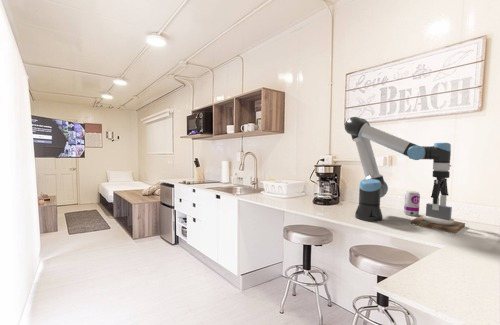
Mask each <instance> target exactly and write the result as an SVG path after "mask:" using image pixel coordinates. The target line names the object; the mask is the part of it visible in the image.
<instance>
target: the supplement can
mask: <svg viewBox="0 0 500 325" xmlns="http://www.w3.org/2000/svg"><path fill="white" fill-rule="evenodd" d="M420 200H421V195H420V191H419V192H418V191H416V190H415V191H414V190H406V191H405V193H404V202H403V203H404V204H403V205H404V206H403V213H404V214H405V215H406V216H412V217H416V216H417V217H419V215H420V203H421V202H420Z"/></svg>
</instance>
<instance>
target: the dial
mask: <svg viewBox="0 0 500 325" xmlns="http://www.w3.org/2000/svg"><path fill="white" fill-rule="evenodd" d="M452 209H453V207H452V206H447V205H446V206H442V205H440V204H439V210H433V209H432V203H429V202H428V203H426V206H425V214H422V216H423V220H425V221H427V222H430V223H435V224H441V225H453V224H454V221H455V219H454V218H452V211H453V210H452Z"/></svg>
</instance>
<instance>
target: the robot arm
mask: <svg viewBox="0 0 500 325" xmlns="http://www.w3.org/2000/svg"><path fill="white" fill-rule="evenodd" d="M344 130H345V132H346V133H347V134H349V135H350V136H351V140H352V141H353V142H355V145H356V148H357V151H358V152H357V153H358V156H359V159H360V163H361V167H362V171H363V174H364V178H363V179H361V180H360V181H359V184H358V185H359V187H358V188H359V189H358V190H359V192H358V206H357V208H356V211H355V213H354V214H355V215H354V217H355V218H356V219H358V220H361V221H366V222H382V221H383V219H384V218H383V213H382V209H381V198H383V197H385V195H386V194H387V193H388V191H389V187H388V184H387V182H386V181H385V180H384V175H383V174H380V172H379V168H378V164H377V161H376V157H375V153H374V150H373V147H372V144H371V143H372V142H374V143H376V144H378V145H381V146H383V147H385V148H387V149H390V150H392V151H395V152H396V153H399V154H402V155H404V156H405V157H408V158H409V159H410V160H413V161H419V160H429V161H430V160H433V161H432V170H433V171H432V177H433V178H436V179H434V180H433V187H432V190H431V195H430V198H432V203H431V204H432V209H433V210H439V205H442V206H447V196H449V190H448V178H450V176H451V174H450V172H451V171H450V170H451V169H450V168H451V167H452V165H451V156H452V155H451V152H452V145H451V143H449V142H434V143H433V145H432V146H429V145H428V146H426V145H425V146H424V145H423V146H421V145H419V144H415V143H413V142H411V141H408V140H406V139H403V138H401V137H398V136H396V135H394V134H390V133H388V132H385V131H384V130H381V129H379V128H375V127H373V126H371V124H370V123H369V121H367V119H365V118H361V117H358V116H352V117H349V118H347V120H345V123H344ZM371 141H372V142H371ZM439 197H440V198H439Z"/></svg>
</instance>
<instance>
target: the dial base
mask: <svg viewBox="0 0 500 325" xmlns="http://www.w3.org/2000/svg"><path fill="white" fill-rule="evenodd" d="M410 224H411V225H413V226H419V227H424V228H428V229H433V230H436V231H437V230H438V231H442V232H446V233H449V234H451V233H452V234H457V233H458V232H459V231H461V230H462V229H464V228H465V226H466V222H461V221H455V220H454V224H453V225H441V224H435V223H430V222H427V221H425V220H423V215H421V216H417V217H416V218H414V219H411V220H410Z"/></svg>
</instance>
